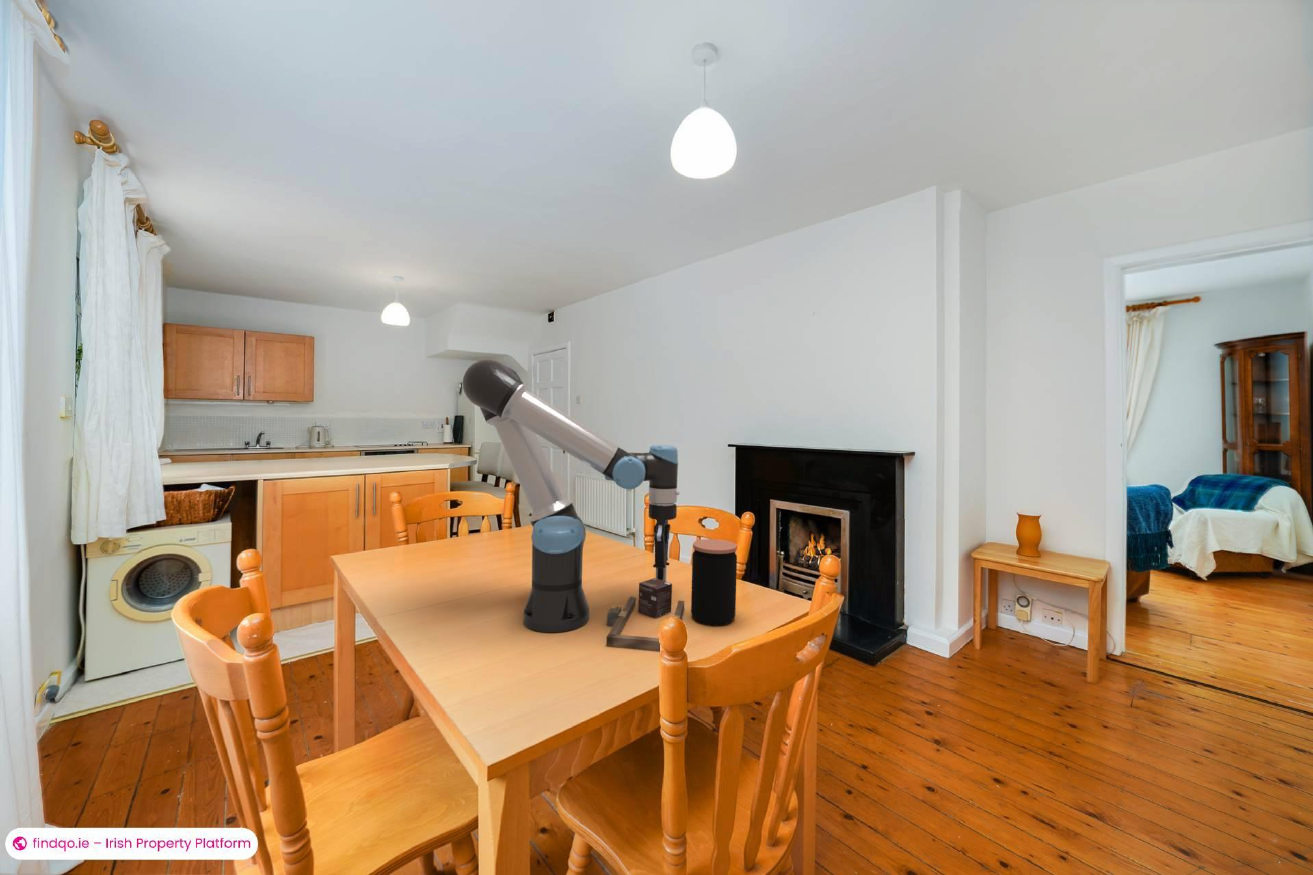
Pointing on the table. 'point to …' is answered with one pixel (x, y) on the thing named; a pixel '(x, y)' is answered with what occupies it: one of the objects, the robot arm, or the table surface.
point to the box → (655, 597)
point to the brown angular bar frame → (619, 620)
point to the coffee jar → (714, 581)
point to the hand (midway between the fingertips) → (660, 590)
